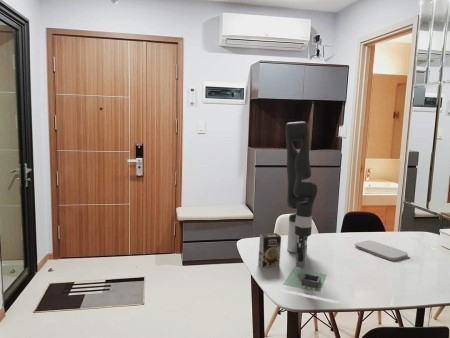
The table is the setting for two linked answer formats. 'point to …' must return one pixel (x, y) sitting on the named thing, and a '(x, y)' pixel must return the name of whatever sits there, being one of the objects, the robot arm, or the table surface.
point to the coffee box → (269, 250)
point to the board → (305, 280)
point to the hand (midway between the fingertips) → (301, 259)
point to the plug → (303, 264)
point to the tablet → (381, 250)
